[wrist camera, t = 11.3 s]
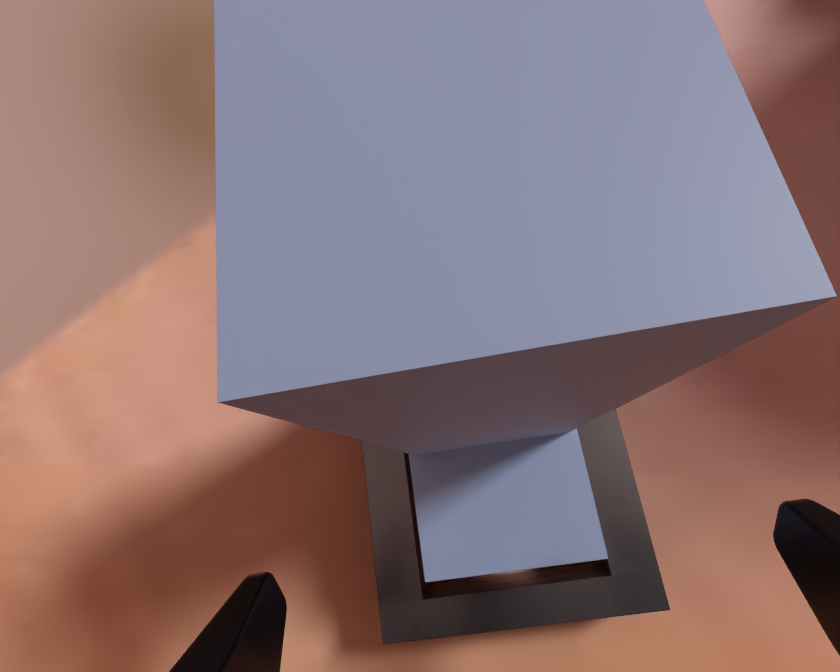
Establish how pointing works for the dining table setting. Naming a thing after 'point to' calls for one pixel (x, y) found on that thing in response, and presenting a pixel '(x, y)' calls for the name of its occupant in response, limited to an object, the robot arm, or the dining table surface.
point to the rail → (519, 592)
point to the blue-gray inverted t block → (488, 240)
